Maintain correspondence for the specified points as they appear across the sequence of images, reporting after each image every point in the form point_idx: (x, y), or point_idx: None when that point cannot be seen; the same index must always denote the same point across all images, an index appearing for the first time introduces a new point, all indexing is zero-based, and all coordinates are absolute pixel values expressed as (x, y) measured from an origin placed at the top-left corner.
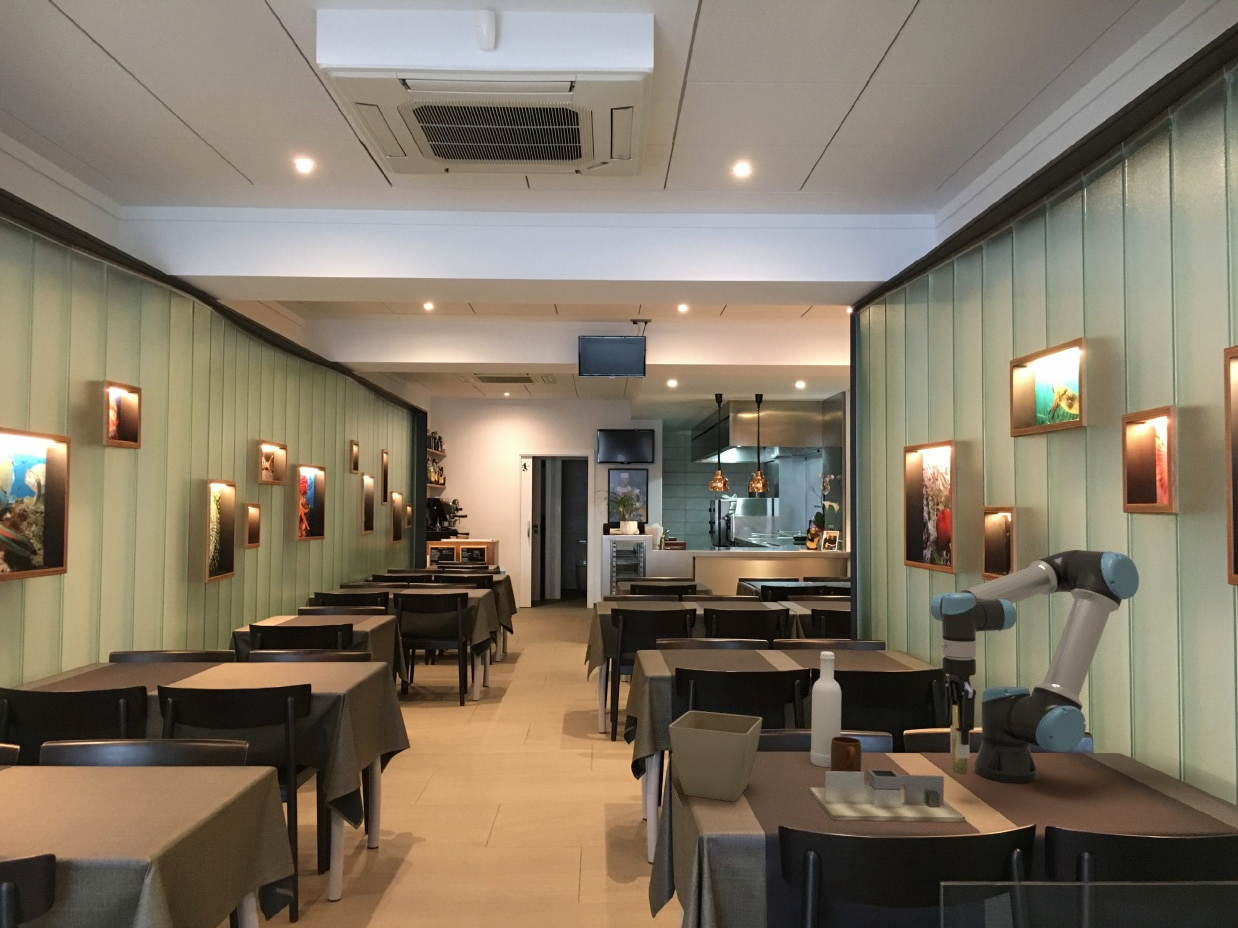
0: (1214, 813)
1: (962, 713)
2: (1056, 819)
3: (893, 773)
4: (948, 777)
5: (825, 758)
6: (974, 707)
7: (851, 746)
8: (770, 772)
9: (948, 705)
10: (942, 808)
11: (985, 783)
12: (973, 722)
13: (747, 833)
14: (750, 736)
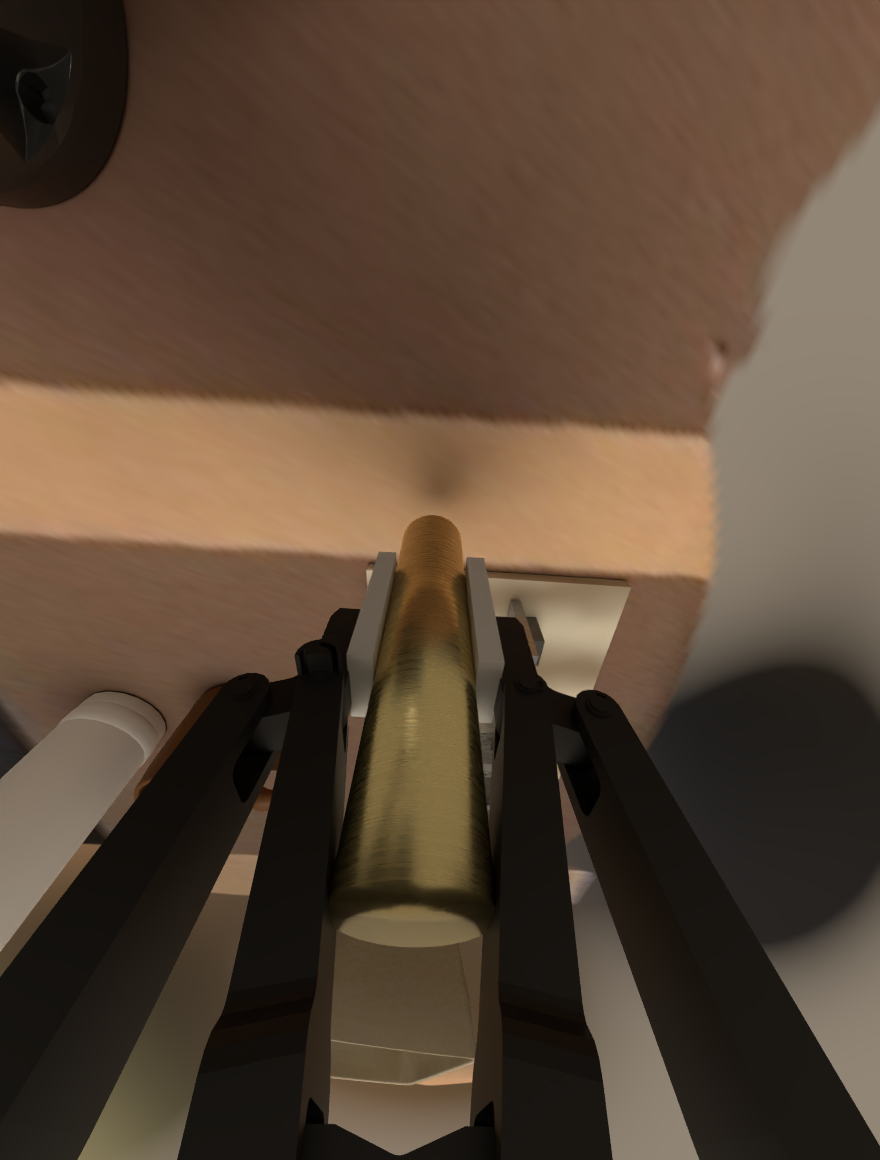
0: None
1: (609, 891)
2: (716, 182)
3: (490, 767)
4: (143, 408)
5: (152, 746)
6: (768, 959)
7: (258, 809)
8: (251, 814)
9: (216, 866)
10: (546, 613)
11: (185, 255)
12: (645, 756)
13: (578, 883)
14: (439, 1030)
